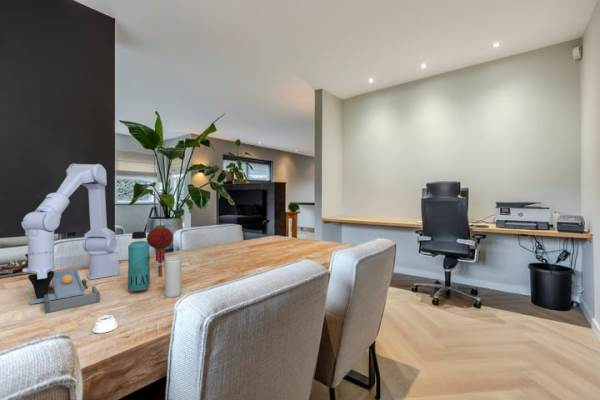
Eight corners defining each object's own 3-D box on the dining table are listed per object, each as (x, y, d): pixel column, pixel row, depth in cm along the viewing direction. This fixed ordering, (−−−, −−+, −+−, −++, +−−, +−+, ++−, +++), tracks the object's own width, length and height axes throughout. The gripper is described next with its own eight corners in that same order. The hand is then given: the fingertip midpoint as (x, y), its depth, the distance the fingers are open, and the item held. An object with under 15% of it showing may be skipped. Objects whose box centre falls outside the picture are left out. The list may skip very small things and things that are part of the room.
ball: (73, 278, 93) (73, 284, 94) (72, 272, 95) (72, 278, 96) (61, 280, 91) (61, 286, 92) (61, 273, 93) (60, 280, 94)
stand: (86, 285, 98) (86, 278, 98) (87, 288, 95) (87, 280, 95) (46, 292, 91) (46, 284, 91) (46, 295, 88) (46, 287, 88)
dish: (94, 294, 90) (94, 285, 90) (99, 302, 84) (99, 292, 84) (44, 304, 82) (44, 294, 82) (45, 313, 75) (45, 303, 75)
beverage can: (184, 294, 91) (184, 257, 91) (173, 299, 87) (173, 260, 87) (172, 292, 93) (172, 256, 93) (161, 297, 88) (161, 259, 88)
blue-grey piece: (77, 277, 102) (77, 269, 102) (84, 294, 89) (84, 285, 89) (29, 284, 93) (29, 275, 93) (29, 305, 81) (29, 294, 80)
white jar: (122, 326, 69) (107, 323, 70) (122, 314, 69) (107, 312, 70) (103, 336, 64) (87, 333, 66) (103, 323, 64) (87, 320, 66)
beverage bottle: (126, 296, 88) (126, 233, 88) (128, 290, 94) (128, 230, 94) (149, 293, 91) (150, 232, 91) (150, 287, 97) (150, 230, 97)
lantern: (175, 277, 109) (175, 200, 109) (147, 281, 104) (148, 200, 103) (170, 271, 117) (171, 200, 117) (145, 275, 112) (145, 200, 111)
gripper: (22, 250, 86) (22, 294, 86) (21, 258, 75) (22, 308, 75) (53, 247, 90) (53, 289, 91) (56, 254, 80) (56, 301, 80)
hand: (41, 297), depth 83 cm, fingers closed, pressing on blue-grey piece
